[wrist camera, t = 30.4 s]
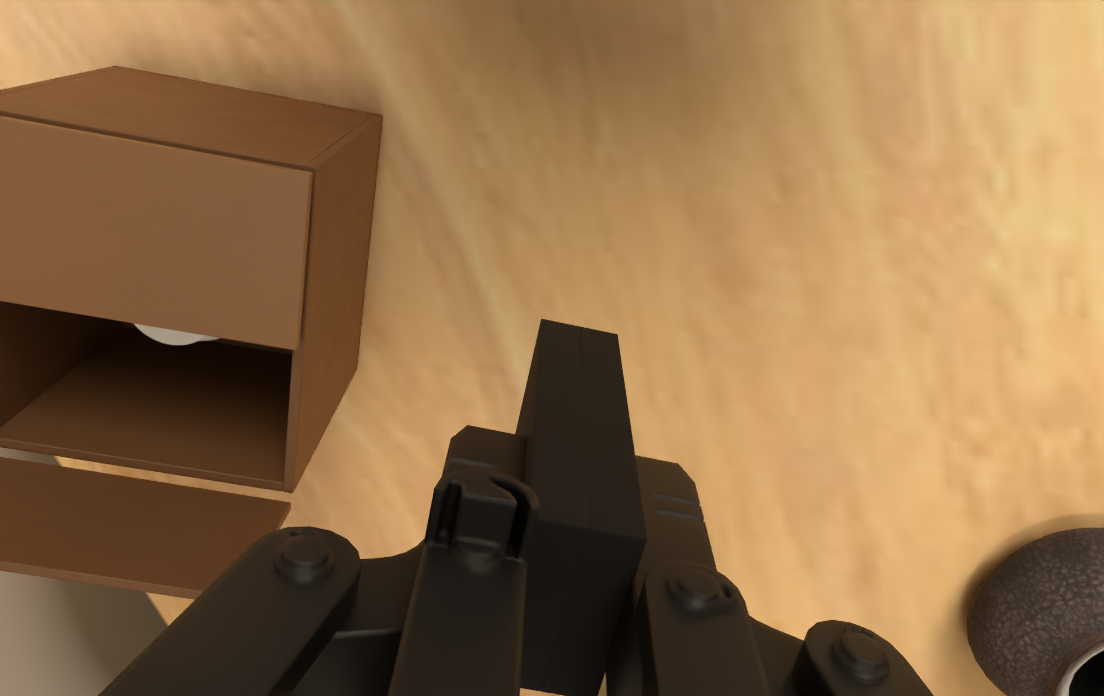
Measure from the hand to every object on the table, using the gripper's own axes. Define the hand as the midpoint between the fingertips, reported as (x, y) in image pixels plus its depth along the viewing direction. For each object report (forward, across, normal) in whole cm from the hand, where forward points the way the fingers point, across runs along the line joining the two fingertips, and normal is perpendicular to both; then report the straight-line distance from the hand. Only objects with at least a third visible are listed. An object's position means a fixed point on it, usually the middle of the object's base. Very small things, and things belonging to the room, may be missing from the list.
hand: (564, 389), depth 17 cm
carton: (+28, -15, -8) cm, 33 cm away
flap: (+15, -15, -5) cm, 22 cm away
